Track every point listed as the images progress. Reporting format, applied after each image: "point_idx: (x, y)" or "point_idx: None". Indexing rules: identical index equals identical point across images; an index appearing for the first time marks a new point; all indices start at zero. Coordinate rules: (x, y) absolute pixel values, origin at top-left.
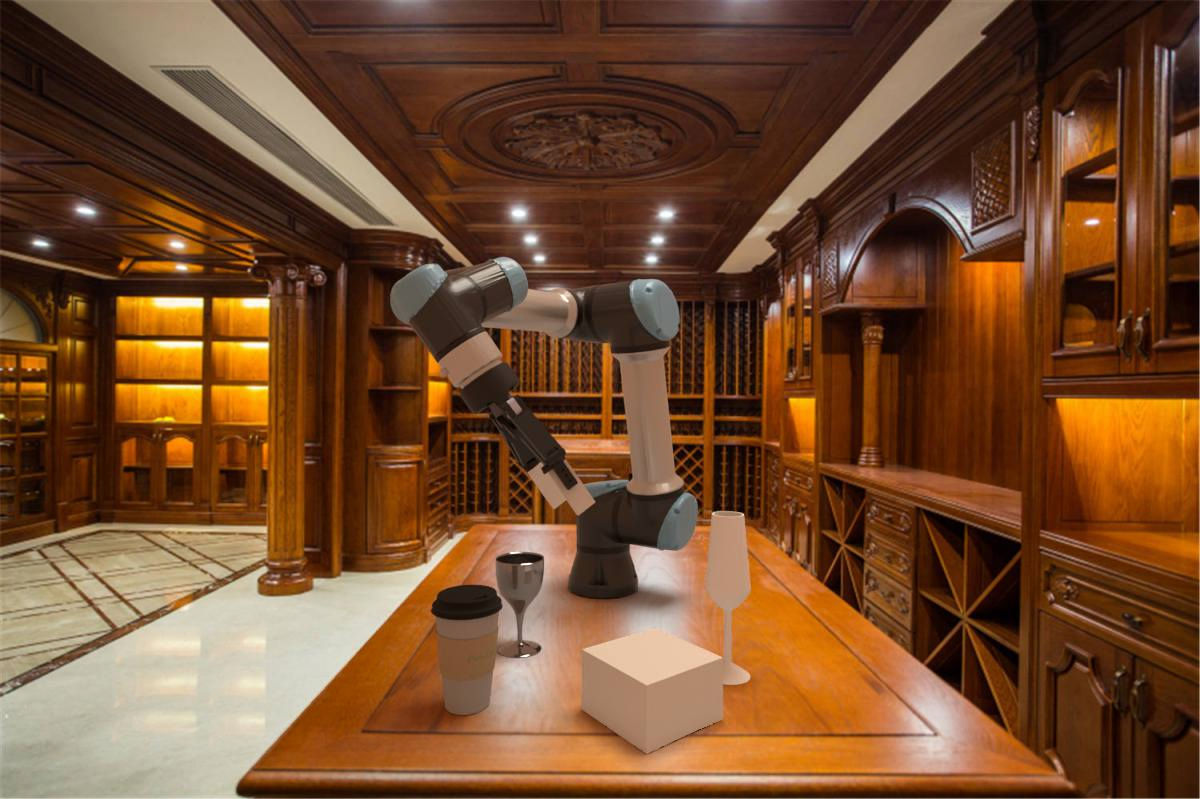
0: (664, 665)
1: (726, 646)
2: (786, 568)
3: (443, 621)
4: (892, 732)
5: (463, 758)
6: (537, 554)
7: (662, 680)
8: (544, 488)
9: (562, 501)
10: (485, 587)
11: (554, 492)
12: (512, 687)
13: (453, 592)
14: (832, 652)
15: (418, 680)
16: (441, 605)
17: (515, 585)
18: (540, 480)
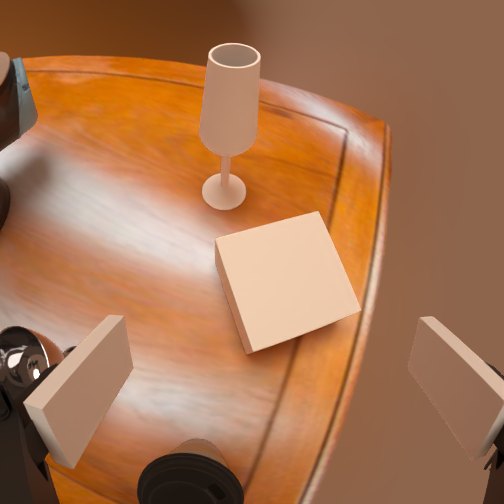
0: (323, 275)
1: (227, 176)
2: (58, 60)
3: None
4: (341, 147)
5: (296, 467)
6: (5, 329)
7: (352, 290)
8: (103, 400)
9: (125, 339)
10: (165, 478)
11: (111, 363)
12: (173, 409)
13: None
14: None
15: (129, 489)
16: None
17: None
18: (88, 416)
